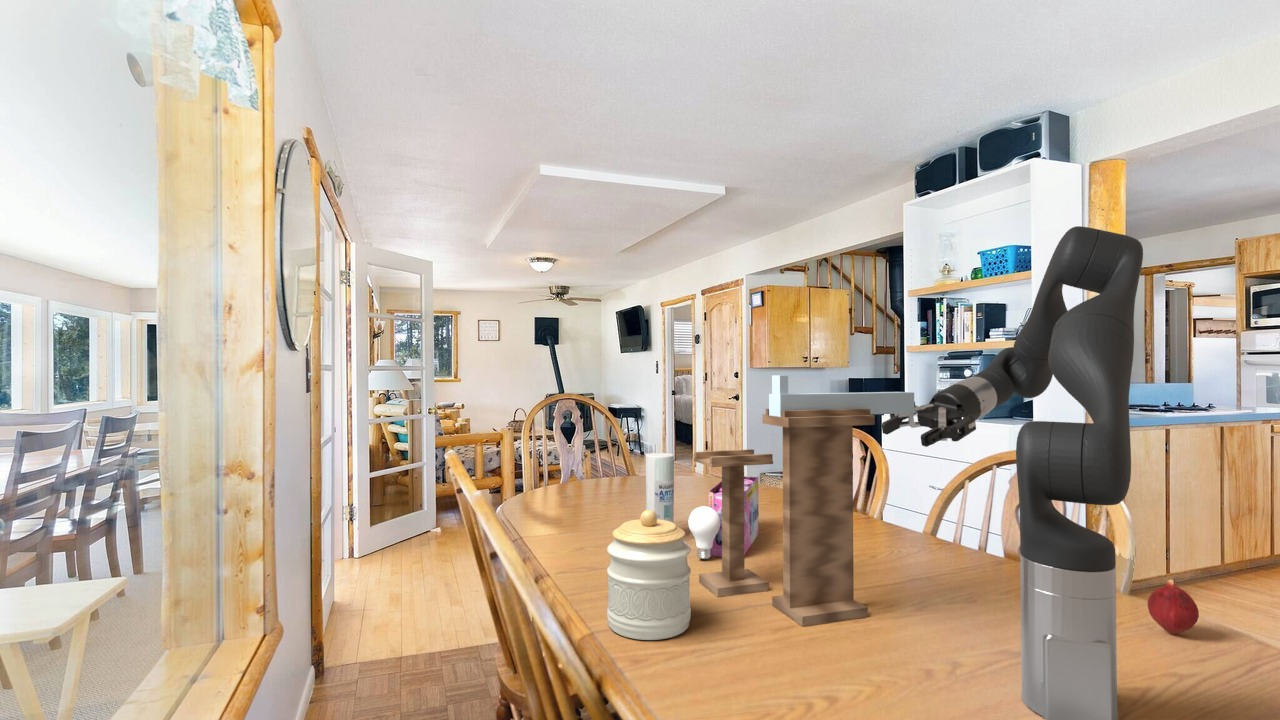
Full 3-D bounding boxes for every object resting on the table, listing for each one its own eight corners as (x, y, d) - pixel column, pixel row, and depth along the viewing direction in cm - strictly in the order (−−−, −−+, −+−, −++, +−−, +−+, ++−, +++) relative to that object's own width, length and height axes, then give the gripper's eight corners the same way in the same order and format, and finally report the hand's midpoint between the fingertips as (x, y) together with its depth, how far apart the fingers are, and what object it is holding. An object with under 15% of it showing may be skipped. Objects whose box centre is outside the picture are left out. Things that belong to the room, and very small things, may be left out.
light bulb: (682, 561, 129) (682, 507, 130) (696, 553, 135) (696, 501, 135) (712, 566, 126) (712, 511, 126) (725, 557, 132) (725, 505, 132)
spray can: (661, 537, 148) (661, 451, 149) (680, 542, 143) (679, 454, 144) (639, 541, 144) (639, 454, 144) (658, 548, 139) (658, 457, 139)
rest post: (752, 576, 120) (751, 449, 121) (773, 590, 113) (773, 454, 113) (694, 582, 116) (693, 451, 117) (712, 597, 109) (712, 457, 109)
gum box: (742, 561, 130) (742, 495, 130) (704, 557, 132) (704, 493, 132) (759, 532, 152) (759, 476, 152) (727, 530, 155) (726, 474, 155)
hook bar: (899, 411, 111) (899, 374, 111) (914, 413, 107) (914, 375, 107) (769, 415, 102) (769, 375, 102) (780, 416, 99) (780, 375, 99)
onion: (1208, 644, 90) (1208, 588, 90) (1162, 640, 91) (1162, 585, 92) (1182, 627, 96) (1182, 575, 96) (1139, 624, 97) (1139, 572, 97)
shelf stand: (843, 596, 110) (842, 406, 110) (878, 615, 101) (876, 409, 102) (761, 607, 105) (760, 408, 105) (791, 628, 96) (790, 411, 96)
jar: (617, 647, 90) (617, 522, 90) (599, 613, 102) (599, 504, 102) (703, 636, 93) (703, 516, 93) (675, 604, 106) (675, 499, 106)
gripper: (929, 377, 122) (868, 407, 116) (998, 390, 110) (934, 425, 104) (933, 412, 124) (874, 444, 118) (1002, 429, 112) (939, 465, 106)
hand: (902, 435), depth 111 cm, fingers open, 8 cm apart
